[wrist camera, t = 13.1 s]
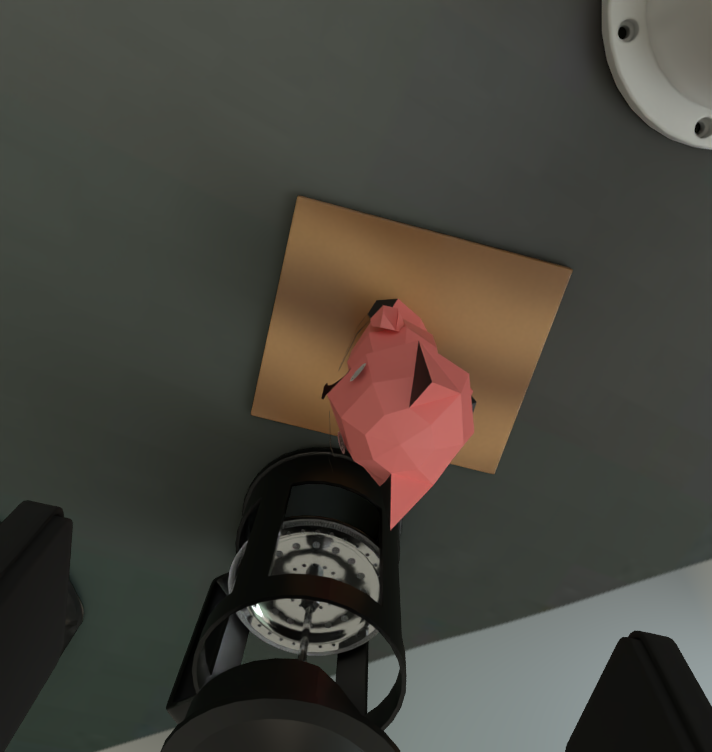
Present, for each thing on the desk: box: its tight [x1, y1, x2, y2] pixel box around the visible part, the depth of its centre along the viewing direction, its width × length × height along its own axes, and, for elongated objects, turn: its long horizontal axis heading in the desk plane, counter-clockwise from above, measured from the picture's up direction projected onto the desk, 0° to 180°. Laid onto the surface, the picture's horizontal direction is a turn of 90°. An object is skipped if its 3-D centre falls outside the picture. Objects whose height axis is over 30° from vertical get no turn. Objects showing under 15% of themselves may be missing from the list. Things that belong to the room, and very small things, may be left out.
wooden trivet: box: [251, 195, 573, 474], centre depth 33 cm, size 12×14×1 cm
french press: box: [161, 448, 406, 752], centre depth 27 cm, size 12×9×23 cm
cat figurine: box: [321, 299, 477, 530], centre depth 28 cm, size 7×7×12 cm
